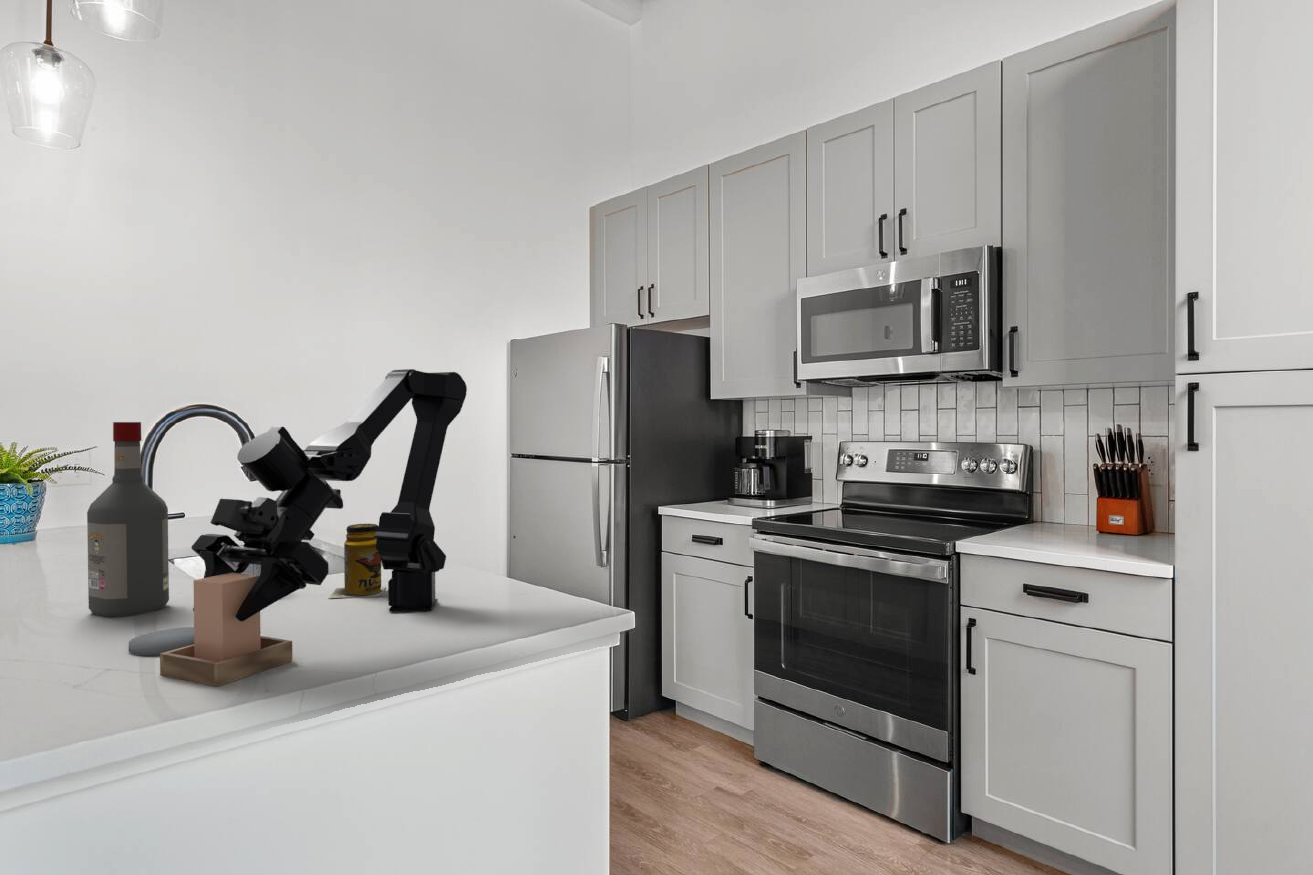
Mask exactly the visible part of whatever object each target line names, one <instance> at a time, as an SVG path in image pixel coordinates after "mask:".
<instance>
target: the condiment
mask: <svg viewBox="0 0 1313 875" xmlns="http://www.w3.org/2000/svg"><path fill="white" fill-rule="evenodd" d="M378 526H379V524H376V523H357V524H350V525H348V526H347V527H346V529H345V530H346V535H345V537H346V539H345V542H344V543H343V544H344V546H343V551H344V552H343V555H344V558H343V564H344V567H343V568H344V572H343V575H344V586H343V587H337V588H335V589H334V591H333V592H332V594H330V595H329V597H328V599H339V598H341V599H342V598H345V599H346V598H371V597H372V598H373V597H380V596H381V597H382V594H383V593H384V591H385V589H386V586H382V562H381V559H380V555H379V552H378V550H376V540H377V538H375V537H374V535H375V534H376V532H377V529H378Z"/></svg>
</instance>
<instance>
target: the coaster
mask: <svg viewBox="0 0 1313 875" xmlns="http://www.w3.org/2000/svg"><path fill="white" fill-rule="evenodd" d="M193 644H194V626H184V627H174V628H173V627H172V628H167V629H161V630H156V631H152V632H148V633H144V634H140V635H139V636H136V637H134V638H131V639H130V640H129V641H128V652H129V654H132V655H136V656H160V654H161V653H164V652H168V651H171V650H175V649H178V648H182V647H186V646H189V645H193Z"/></svg>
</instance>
